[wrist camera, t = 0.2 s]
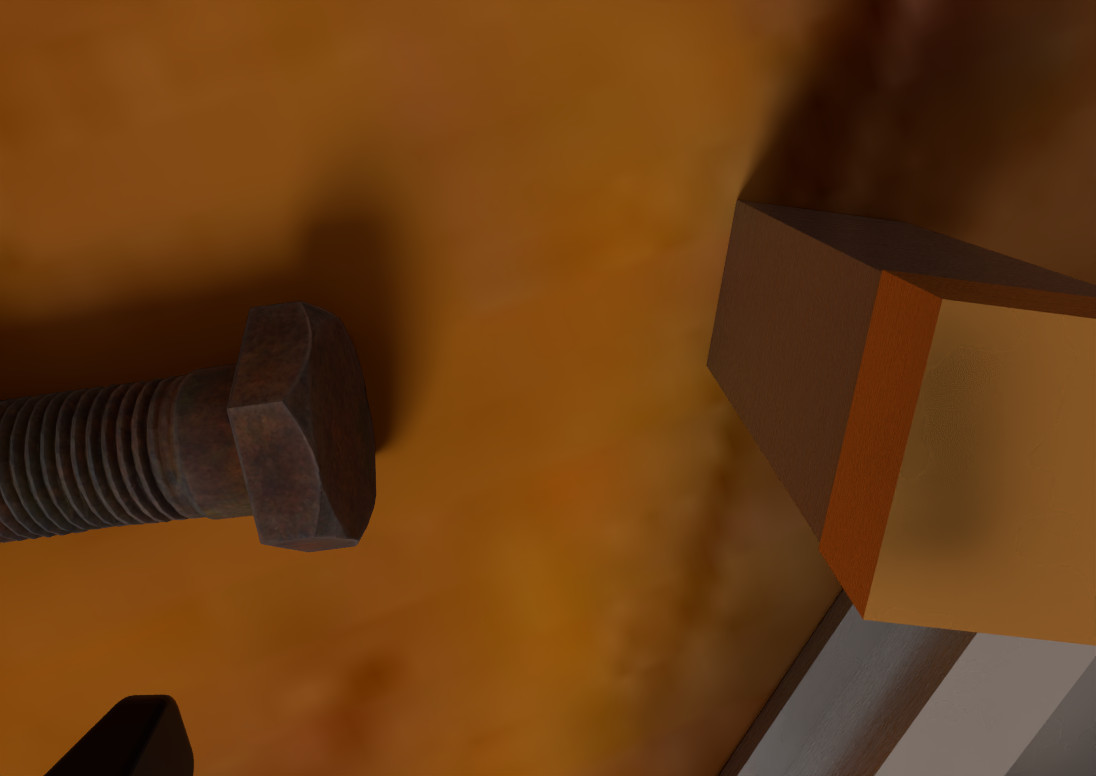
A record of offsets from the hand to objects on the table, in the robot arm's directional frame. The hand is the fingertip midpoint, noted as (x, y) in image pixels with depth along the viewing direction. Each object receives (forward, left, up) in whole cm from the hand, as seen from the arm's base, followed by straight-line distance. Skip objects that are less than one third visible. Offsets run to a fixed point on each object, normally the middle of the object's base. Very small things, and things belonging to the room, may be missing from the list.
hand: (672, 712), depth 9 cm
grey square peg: (+4, -3, -15) cm, 16 cm away
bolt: (-10, +8, -16) cm, 20 cm away
